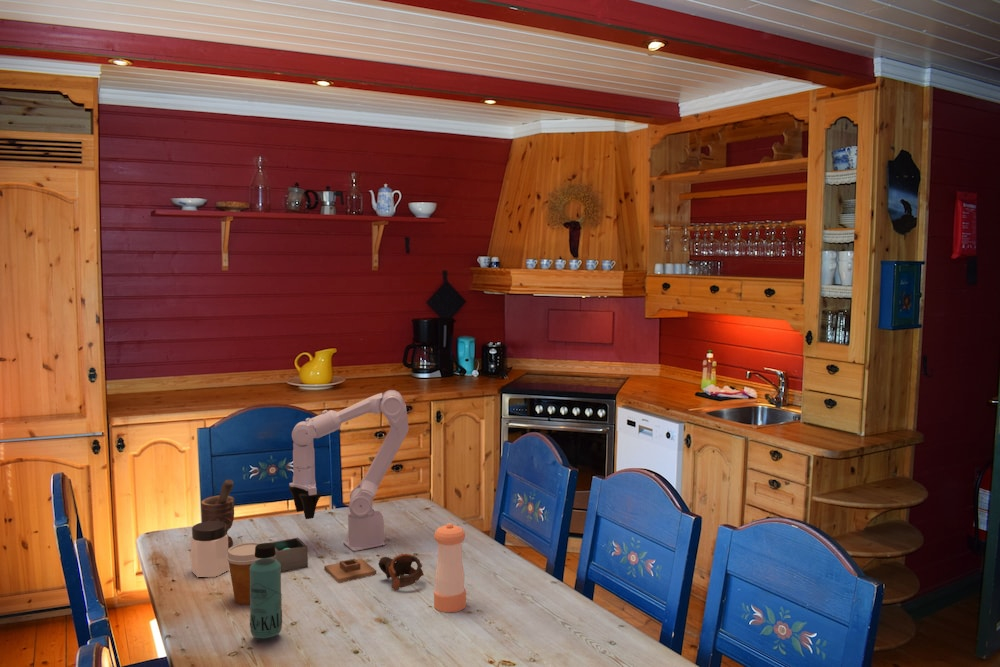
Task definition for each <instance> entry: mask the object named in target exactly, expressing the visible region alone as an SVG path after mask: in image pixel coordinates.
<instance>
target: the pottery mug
mask: <svg viewBox="0 0 1000 667" xmlns="http://www.w3.org/2000/svg"><path fill="white" fill-rule="evenodd" d="M414 562H415V563H416V566H417V568H414V567H412V564H413V563H414ZM422 567H423V564H422V563H421V561H420V559H419V558H418V557H416V556H415V555H412V554H410V553H402V554H398V555H396V556H395V557H394V558H391V557H388V556H383V557H381V558H380V559H379V561H378V568H379V569H380V570H381V571H382V573H383V574H385V576H386V579H387V580H389V579H390V578H391V579H392V584H391V589H392V590H395V591H396V590H397V591H398V590H400V589H402V588H406V587H408V586H411V585H414V584H416V582H418V581H419V580H420V578H421V577H422V576H425V574H424V571H423V569H422Z"/></svg>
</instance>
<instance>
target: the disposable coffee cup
mask: <svg viewBox="0 0 1000 667" xmlns="http://www.w3.org/2000/svg"><path fill="white" fill-rule="evenodd" d="M262 543H263V542H244V543H239V544H236V545H232V546H231V547H229V548H228V554H227V555H226V558H227V560H228V562H229V573H230V579H231V585H232V591H233V597H234V603H236V604H239V605H243V606H244V605H249V604H250V603H249V602H250V566H251V565H252V564H253V563H254V562H255V561H256V560H258V559H261V558H256V557H255V547H256V545H258V544H262Z"/></svg>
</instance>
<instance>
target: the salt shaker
mask: <svg viewBox="0 0 1000 667" xmlns="http://www.w3.org/2000/svg"><path fill="white" fill-rule="evenodd" d="M433 537H434V540H435V541H436V543H437V563H436V571H435V575H434V577H435V589H434V591H433V595H434V596H433V607H434V609H436V610H437V611H439V612H442V613H457V612H459V611H462V610H463V609H465V608H466V606H467V591H466V588H465V571H464V563H463V542H464V540H465V538H466V533H465V530H464V528H462V527H461V526H459V525H458V526H457V525H456V524H453V523H451V522H448V523H446V525H442V526H439V527H438V528H437V529H436V530H435V532H434V536H433Z"/></svg>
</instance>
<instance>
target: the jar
mask: <svg viewBox="0 0 1000 667" xmlns="http://www.w3.org/2000/svg"><path fill="white" fill-rule="evenodd" d="M226 531H227V528H226V524H225V523H224V522H221V521H207V522H203V521H202V522H199V523H196V524H194V525H193V526H192V528H191V534H192V536H191V537H190V550H191V551H190V553H191V554H190V555H191V557H190V558H191V573H192V572H193V573H194V574H195V575H196V576H197V577H196V578H198V577H208V578H217V577H219V576H221V575H223V574H225V573H227V572H230V568H229V562H228V560H227V558H226V555H227V554H228V550H229V548H228V536H229V534H228V533H227V534H226ZM227 532H228V531H227ZM226 571H227V572H226ZM224 572H225V573H224ZM193 573H192V574H193ZM222 573H223V574H222ZM194 574H193V575H194ZM195 575H194V576H195ZM216 576H217V577H216Z"/></svg>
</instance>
